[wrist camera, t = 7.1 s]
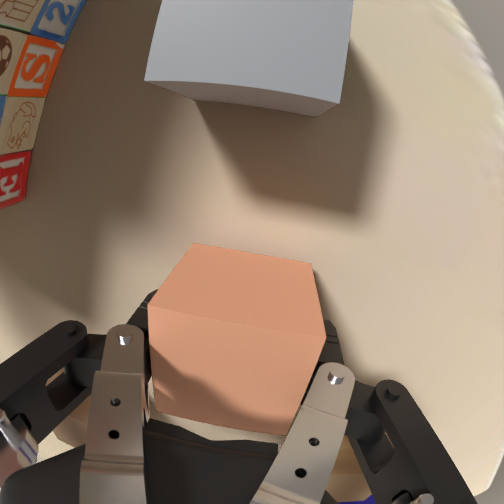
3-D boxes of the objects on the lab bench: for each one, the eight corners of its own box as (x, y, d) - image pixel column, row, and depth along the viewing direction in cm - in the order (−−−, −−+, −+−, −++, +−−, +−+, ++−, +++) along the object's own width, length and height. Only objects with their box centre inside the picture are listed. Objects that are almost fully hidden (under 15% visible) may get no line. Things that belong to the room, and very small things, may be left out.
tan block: (85, 395, 19) (58, 439, 15) (71, 351, 17) (35, 397, 13) (140, 415, 19) (117, 466, 14) (132, 373, 17) (101, 429, 13)
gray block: (194, 100, 11) (144, 80, 6) (215, -1, 9) (182, -59, 5) (315, 117, 11) (339, 103, 6) (331, 14, 9) (356, -44, 4)
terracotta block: (187, 335, 14) (155, 410, 10) (193, 243, 13) (147, 304, 8) (286, 353, 14) (286, 435, 10) (310, 263, 12) (326, 337, 8)
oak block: (296, 446, 19) (295, 502, 14) (316, 408, 17) (320, 473, 12) (357, 448, 19) (364, 500, 14) (384, 411, 17) (399, 470, 12)
